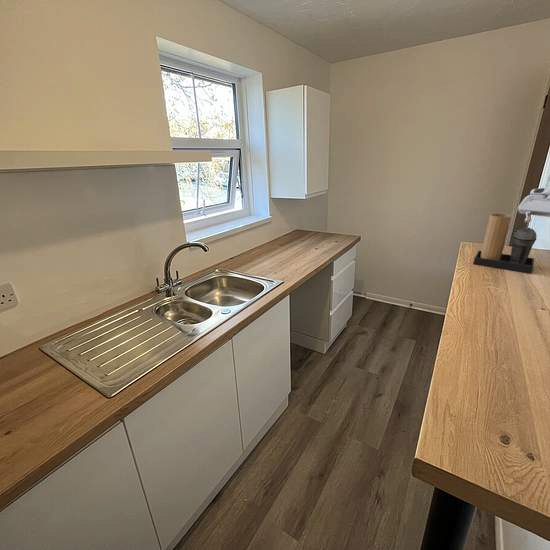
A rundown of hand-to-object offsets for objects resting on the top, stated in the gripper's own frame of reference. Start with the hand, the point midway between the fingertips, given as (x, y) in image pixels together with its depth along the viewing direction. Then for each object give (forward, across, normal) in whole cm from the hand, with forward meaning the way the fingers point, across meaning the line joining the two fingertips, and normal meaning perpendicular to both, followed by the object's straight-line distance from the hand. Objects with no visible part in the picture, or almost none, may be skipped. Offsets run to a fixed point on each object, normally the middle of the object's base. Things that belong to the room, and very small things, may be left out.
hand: (540, 223), depth 121 cm
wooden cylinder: (+22, +9, 0) cm, 23 cm away
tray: (+21, +4, -2) cm, 21 cm away
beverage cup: (+20, 0, -2) cm, 20 cm away
